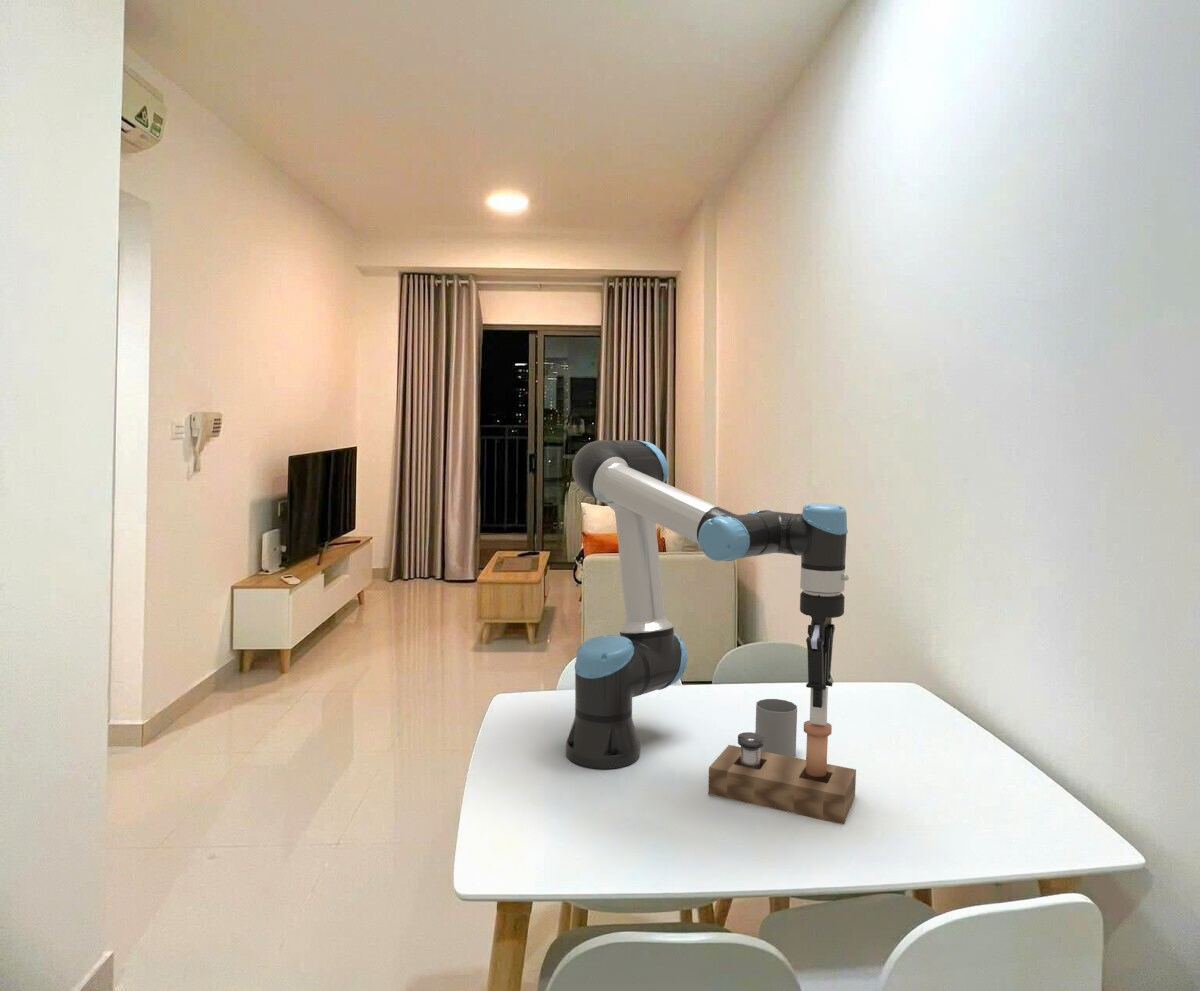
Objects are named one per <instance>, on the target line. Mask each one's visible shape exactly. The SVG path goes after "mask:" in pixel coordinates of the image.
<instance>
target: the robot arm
mask: <svg viewBox="0 0 1200 991" xmlns="http://www.w3.org/2000/svg"><path fill="white" fill-rule="evenodd" d="M668 476H669V466H668V462H667V459H666V456H665V454H664V453H663V452H662V450H661V449H660V448H658V446H656V445H655V444H653V443H651V442H649V441H644V440H643V441H642V440H638V439H633V440H632V439H629V440H623V439H622V440H621V439H620V440H619V439H617V440H614V439H613V440H609V439H608V440H606V439H603V440H602V439H600V440H595V441H592V442H588V443H586V444H585V445H584V446H583V447H582V448H579V450H578V452H577V453H576V455H575V456H574V458H573V461H572V477H573V480H574V482H575V484H576V485H577V487H578V489H579V490H581V491H582V492H583V493H585V494H586V495H587V496H590V497H592V499H593V498H594V499H595V500H597V501H599V502H601V503H606V505H607V506H608V507H609V508H610V509H611V510H612V511H613V512H614V516H615V527H616V536H617V543H618V544H617V545H618V546H617V547H618V556H619V566H620V567H619V568H620V575H621V576H620V577H621V585H622V586H621V587H622V596H623V606H624V616H625V617H624V618H625V621H624V623H623V625H622V626H621V628H620V629H619V635H615V634H611V635H610V634H609V635H605V636H603V635H600V636H596V637H593V638H589V639H587V640H585V641H583V642H581V643H580V645H579V646H578V647H577V649H576V656H575V663H574V671H575V675H574V676H575V678H574V679H575V681H574V682H575V683H574V684H575V686H574V687H575V692H574V694H575V696H574V697H575V698H574V700H575V701H574V702H575V705H574V706H575V708H574V710H575V712H574V719H573V722H572V725H571V728H570V731H569V734H568V737H567V740H566V743H565V744H566V746H565V756H566V757H567V759H569V760H570V762H572V763H574V764H576V765H579V766H581V767H585V768H592V769H599V770H601V769H602V770H604V769H605V770H607V769H617V768H623V767H626V766H630V765H632V764H633V763H635V762H636V761H638V760H639V759H640V756H641V743H640V739H639V737H638V733H637V730H636V727H635V724H634V720H633V698H635V697H638V696H641V695H645V694H648V693H651V692H655V691H660V690H661V691H662V690H664V689H666V688H668V687H669V686H671V685H673V684H676V683H677V682H678V681H679V680H680V679H681V678H682V677H683V676H684V673H685V672H686V670H687V665H688V651H687V648H686V647H687V646H686V645H685V642H684V641H682V640H681V639H682V638H681V637H680V635H679V634H677V633H676V632H675V631H674V625H673V623H672V622H670V620H668V619H667V617H666V613H665V602H664V592H663V584H662V581H663V580H662V573H661V563H660V554H659V553H660V551H659V543H658V534H657V533H658V532H657V525H659V526H661V527H663V528H666V529H668V530H670V531H671V532H673V533H676V534H677V535H679V536H682V537H684V538H686V539H688V540H689V541H692V542H693V543H697V544H698V545H699V547H700V550H702V552H703V553H704V555H705V556H706V557H707V558H709V559H710V560H712V561H716V562H717V561H719V562H720V561H722V562H731V561H732V562H733V561H736V560H739V559H745V558H750V557H757V556H764V555H770V554H784V555H792V556H800V579H799V580H800V583H799V586H800V587H799V588H800V589H801V590H802V591H801V592H800V593H799V596H800V597H799V611H800V613H801V614H803V615H805V616H809V617H810V618H811V622H810V624H808V625H807V635H808V636H807V637H806V641H805V642H806V647H807V648H806V649H807V676H808V677H807V678H808V679H807V680H808V681H807V683H806V684H805V688H807V689H808V688H809V689H810V695H809V696H810V701H809V702H810V704H809V720H810V723H812V724H818V725H824V726H825V725H826V724H827V723H828V701H829V700H828V698H829V697H828V695H829V687H831V688H832V687H833V684H834V682H832V681H830V679H831V672H832V671H831V670H832V660H833V659H832V656H833V647H834V645H833V643H834V636H835V634H834V633H835V630H836V627H835V624H834V623H832V622H833V621H832V620H833V619H835V618H840V617H842V616H844V614H845V597H846V596H845V595H844V594H843V592H844V591H845V585H846V584H845V582H846V581H849V579H850V577H849V575H847V574H845V573H846V555H847V554H846V553H847V552H846V551H847V535H848V533H849V532H848V524H847V523H848V521H847V520H848V519H847V518H848V517H847V510H846V508H845V507H844V506H843V505H840V504H835V503H834V504H833V503H807V504H805V505H803V508H802V512H801V513H791V512H783V511H773V510H771V509H770V510H769V509H764V510H750V511H749V512H748V513H747V514H746V513H745V514H737V513H733V512H731V511H728V510H726V509H724V508H722V507H720V506H717V505H715V504H713V503H711V502H710V501H709V502H708V501H706V500H705V499H702V498H700V497H699V496H698V497H697V496H695V495H693V494H691V493H688V492H687V491H684V490H682V489H679V488H678V487H675V486H672V485H671V484H669V483H666V482H667V480H668V478H669V477H668ZM656 524H657V525H656Z"/></svg>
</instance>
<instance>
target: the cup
mask: <svg viewBox="0 0 1200 991" xmlns="http://www.w3.org/2000/svg"><path fill="white" fill-rule="evenodd" d="M755 705H756V706H755V732H754V733H757V734H760V735H762V736H763V737H764V746H763V747H761V751H763V752H768V753H773V754H779V755H784V756H789V757H794V758H796V756H797V753H796V752H797V731H798V730H797V728H798V727H797V724H798V706H797V705H796V703H794V702H793V701H788V700H786V699H778V698H764V699H760V700H758V701H756V704H755Z"/></svg>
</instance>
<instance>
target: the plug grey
mask: <svg viewBox="0 0 1200 991" xmlns="http://www.w3.org/2000/svg"><path fill="white" fill-rule="evenodd" d="M737 744H738V746H739V747H741V760H740V766H745V767H749V768H754V769H759V770H760V752H761V747H763V746H764V737H763V736H762V735H760V734H757V733H755V732H749V731H748V732H745V731H744V732H741V733H739V734H738V735H737Z"/></svg>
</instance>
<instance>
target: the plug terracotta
mask: <svg viewBox="0 0 1200 991" xmlns="http://www.w3.org/2000/svg"><path fill="white" fill-rule="evenodd" d="M832 727H833V725H832V724H831V723H829V722H827V724H826V725H825V726H824V725H818V724H812V723H810V719H809V720H805V721H804V722H803V732H804V733H805V734H806V747H805V748H806V751H805V760H806V773H807V774H809V775H811V776H816V777H822V776H825V775H826V774H827V764H828V744H829V743H828V742H829V740H828V739H829V738H828V737H829V736H831V735H832V730H833V729H832Z"/></svg>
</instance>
